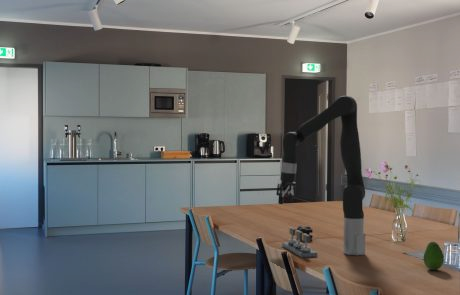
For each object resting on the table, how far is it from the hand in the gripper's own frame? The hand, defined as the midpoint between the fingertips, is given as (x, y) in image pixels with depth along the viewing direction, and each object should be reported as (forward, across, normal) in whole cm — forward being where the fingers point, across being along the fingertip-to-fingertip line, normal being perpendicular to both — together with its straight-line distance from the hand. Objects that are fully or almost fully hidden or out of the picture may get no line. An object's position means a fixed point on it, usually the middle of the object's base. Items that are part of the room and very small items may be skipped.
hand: (285, 203), depth 280 cm
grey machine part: (+22, +24, 0) cm, 32 cm away
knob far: (+19, 0, -7) cm, 20 cm away
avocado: (+14, 0, -77) cm, 78 cm away
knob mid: (+18, -5, -14) cm, 23 cm away
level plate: (+20, -5, -14) cm, 25 cm away
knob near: (+18, -10, -21) cm, 29 cm away
